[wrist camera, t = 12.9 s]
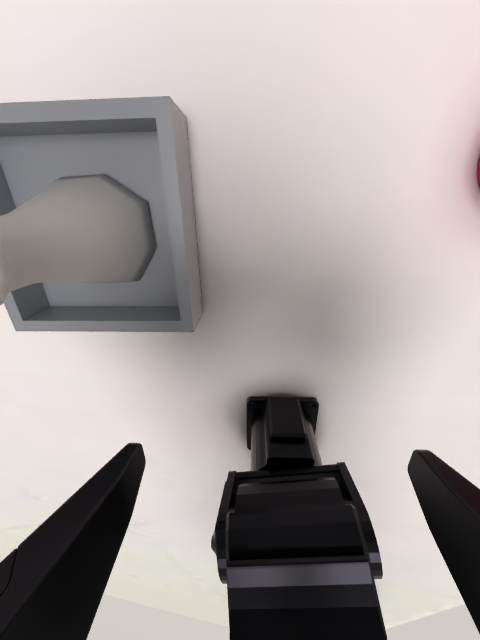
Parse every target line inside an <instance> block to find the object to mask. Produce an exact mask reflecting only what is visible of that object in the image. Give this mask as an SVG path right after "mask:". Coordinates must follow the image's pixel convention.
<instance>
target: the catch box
mask: <svg viewBox="0 0 480 640" xmlns="http://www.w3.org/2000/svg"><path fill="white" fill-rule="evenodd" d="M95 174H106V175H108V176H109V177H111V178H112V179H114V180H115V181H117V182H118V183H120V184H121V185H123V186H124V187H126V188H127V189H129V190H130V191H132V192H133V193H135V194H136V195H138V196H139V197H141V198H142V199H144V200H145V201H147V204H148V209H149V214H150V219H151V224H152V230H153V235H154V240H155V245H156V248H155V250H154V252H153V254H152V256H151V258H150V260H149V262H148V264H147V266H146V268H145V270H144V272H143V274H142V276H141V278H140V280H139V281H134V282H113V283H90V282H78V281H48V282H41V283H35V284H30V285H28V286H25V287H22V288H19V289H17V290H14V291H11V292H9V293H8V294H7V296H6V300H5V302H4V304H5V307H6V309H7V311H8V314H9V316H10V318H11V321H12V323H13V325H14V328H15V330H16V331H121V332H194V330H195V328H196V326H197V324H198V321H199V319H200V317H201V315H202V312H203V307H202V296H201V284H200V272H199V260H198V249H197V237H196V225H195V213H194V202H193V190H192V178H191V166H190V155H189V143H188V131H187V119H186V116H185V115H184V114H183V113H182V111H181V110H180V109H179V108H178V106H177V105H176V104H175V103H174V101H173V100H172V99H171V98H170V96H162V97H138V98H113V99H89V100H64V101H40V102H15V103H0V216H1V215H4V214H8V213H10V212H11V211H13V210H14V209H16V208H17V207H19V206H21V205H22V204H24V203H25V202H27V201H28V200H30V199H31V198H33V197H35V196H36V195H38V194H39V193H40V192H41V191H43V190H44V189H45V188H47V187H48V186H49V185H50V184H52V183H53V182H54V181H56V180H57V179H59V178H60V177H69V176H82V175H95Z"/></svg>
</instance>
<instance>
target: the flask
mask: <svg viewBox="0 0 480 640" xmlns="http://www.w3.org/2000/svg"><path fill="white" fill-rule="evenodd" d="M155 248H156V245H155V240H154V235H153V230H152V224H151V219H150V214H149V209H148V204H147V201H145V200H144V199H142V198H141V197H139V196H138V195H136V194H135V193H133V192H132V191H130V190H129V189H127V188H126V187H124V186H123V185H121V184H120V183H118V182H117V181H115V180H114V179H112V178H111V177H109V176H108V175H106V174H95V175H82V176H69V177H60V178H59V179H57V180H56V181H54V182H53V183H52V184H50V185H49V186H48V187H47V188H45V189H44V190H43V191H41V192H40V193H39V194H38V195H36V196H35V197H33V198H31V199H30V200H28V201H27V202H25V203H24V204H22V205H21V206H19V207H17V208H16V209H14V210H13V211H11V212H10V213H8V214H4V215H1V216H0V305H1V304H3V303H4V302H5V300H6V296H7V294H8V293H9V292H11V291H14V290H17V289H19V288H22V287H25V286H28V285H30V284H35V283H41V282H48V281H78V282H90V283H113V282H134V281H139V280H140V278H141V276H142V274H143V272H144V270H145V268H146V266H147V264H148V262H149V260H150V258H151V256H152V254H153V252H154V250H155Z"/></svg>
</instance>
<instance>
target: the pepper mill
mask: <svg viewBox="0 0 480 640" xmlns="http://www.w3.org/2000/svg"><path fill="white" fill-rule="evenodd" d="M478 177H479V184H480V161H479V166H478Z"/></svg>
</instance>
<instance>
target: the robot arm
mask: <svg viewBox="0 0 480 640" xmlns="http://www.w3.org/2000/svg"><path fill="white" fill-rule="evenodd" d="M251 402H253V404H252V403H251ZM312 403H314V404H312ZM318 408H319V404H318V401H317V399H315V398H274V397H250V398H248V399H247V448H248V449H249V450H251V471H246V472H236V471H230V472H229V473H228V478H227V482H225V486H224V490H223V495H222V499H221V504H220V508H219V512H218V517H217V521H216V526H215V531H214V533H213V536H212V540H211V547H212V550H213V551H214V552H215V554H216V555H217V564H218V572H219V577H220V580H221V582H222V583H223V584H225V583H227V590H228V608H229V626H230V640H387V635H386V631H385V626H384V622H383V617H382V613H381V608H380V604H379V600H378V595H377V591H376V586H375V582H374V579H382V576H383V572H382V563H381V558H380V553H379V548H378V544H377V540H376V537H375V533H374V530H373V527H372V524H371V521H370V518H369V515H368V512H367V510H366V508H365V505H364V503H363V501H362V499H361V497H360V495H359V492H358V490H357V488H356V486H355V484H354V482H353V480H352V477H351V475H350V473H349V471H348V469H347V467H346V465H345V463H344V462H340V463H337V464H333V465H322V462H321V458H320V455H319V451H318V447H317V443H316V439H315V429H316V422H317V415H318ZM145 462H146V461H145V456H144V452H143V448H142V445H141V444H140V443H129V444H127V445H126V446H125V447H124V448H123V449H122V450H120V451H119V452H118V453H117V454H116V455H115V456H114V457H113V458H112V459H111V460H110V461H109V462H108V463H107V464H105V465H104V466H103V467H102V468H101V469H100V470H99V471H98V472H97V473H96V474H95V475H94V476H93V477H92V478H90V479H89V480H88V481H87V482H86V483H85V484H84V485H83V486H82V487H81V488H80V489H79V490H78V491H77V492H75V493H74V494H73V495H72V496H71V497H70V498H69V499H68V500H67V501H66V502H65V503H64V504H63V505H62V506H61V507H59V508H58V509H57V510H56V511H55V512H54V513H53V514H52V515H51V516H50V517H49V518H48V519H47V520H46V521H44V522H43V523H42V524H41V525H40V526H39V527H38V528H37V529H36V530H35V531H34V532H33V533H32V534H31V535H29V536H28V537H27V538H26V539H25V540H24V541H23V542H22V543H21V544H20V545H19V546H18V549H17V548H16V549H14V550H13V551H12V552H11V553H10V554H9V555H8V556H7V557H6V558H5V559H4V560H3V561H1V562H0V640H86V639H87V636H88V634H89V631H90V628H91V625H92V623H93V620H94V617H95V614H96V612H97V609H98V606H99V604H100V601H101V598H102V595H103V593H104V590H105V587H106V585H107V582H108V579H109V577H110V574H111V571H112V568H113V566H114V563H115V560H116V558H117V555H118V552H119V550H120V547H121V544H122V541H123V539H124V536H125V533H126V531H127V528H128V525H129V522H130V519H131V516H132V513H133V509H134V506H135V502H136V498H137V495H138V491H139V487H140V483H141V479H142V476H143V472H144V468H145ZM408 474H409V476H410V479H411V482H412V484H413V487H414V490H415V492H416V495H417V498H418V500H419V503H420V506H421V508H422V511H423V514H424V516H425V519H426V521H427V524H428V526H429V529H430V531H431V533H432V535H433V537H434V539H435V542H436V544H437V546H438V548H439V550H440V552H441V554H442V556H443V558H444V560H445V562H446V564H447V566H448V569H449V571H450V573H451V575H452V577H453V579H454V581H455V583H456V585H457V587H458V589H459V591H460V594H461V596H462V598H463V600H464V602H465V604H466V606H467V608H468V610H469V612H470V614H471V616H472V618H473V620H474V623H475V625H476V627H477V629H478V631H479V633H480V489H479V488H477V487H476V486H475V485H474V484H472V483H471V482H470V481H468V480H467V479H466V478H464V477H463V476H462V475H461V474H459V473H458V472H457V471H455V470H454V469H453V468H452V467H450V466H449V465H448V464H446V463H445V462H444V461H442V460H441V459H440V458H439V457H437V456H436V455H435V454H433V453H432V452H431V451H429V450H414V451H413V453H412V456H411V459H410V461H409V464H408Z"/></svg>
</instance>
